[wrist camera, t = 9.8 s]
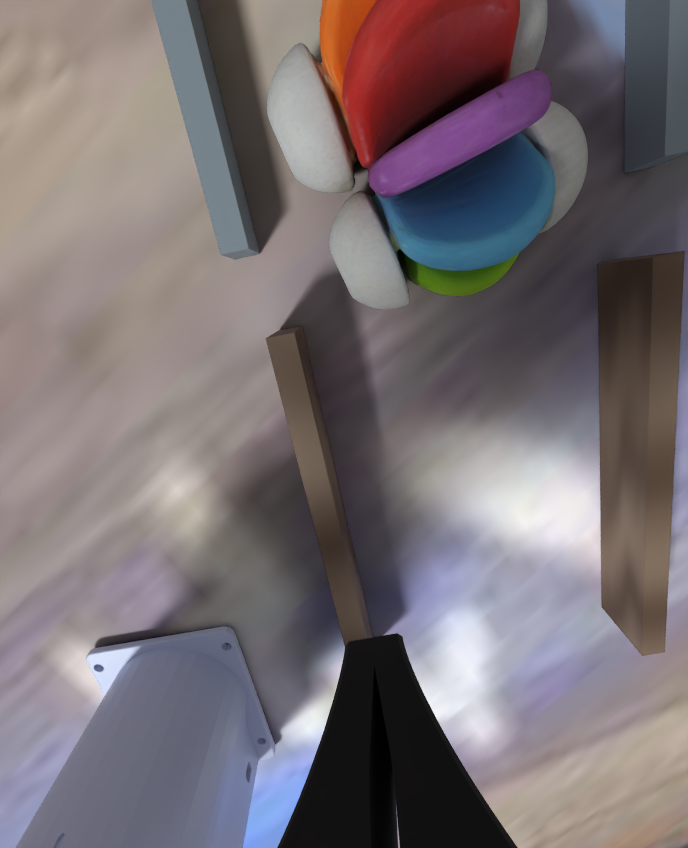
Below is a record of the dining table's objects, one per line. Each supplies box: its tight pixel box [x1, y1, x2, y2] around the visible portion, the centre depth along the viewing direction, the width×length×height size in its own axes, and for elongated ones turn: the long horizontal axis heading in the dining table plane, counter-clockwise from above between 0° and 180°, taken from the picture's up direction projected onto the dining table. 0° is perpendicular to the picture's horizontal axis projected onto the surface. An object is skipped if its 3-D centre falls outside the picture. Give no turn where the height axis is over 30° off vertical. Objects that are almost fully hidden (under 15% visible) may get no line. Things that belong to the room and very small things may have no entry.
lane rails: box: [266, 251, 685, 656], centre depth 18 cm, size 17×14×3 cm
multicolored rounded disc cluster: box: [267, 0, 588, 309], centre depth 12 cm, size 8×10×7 cm
